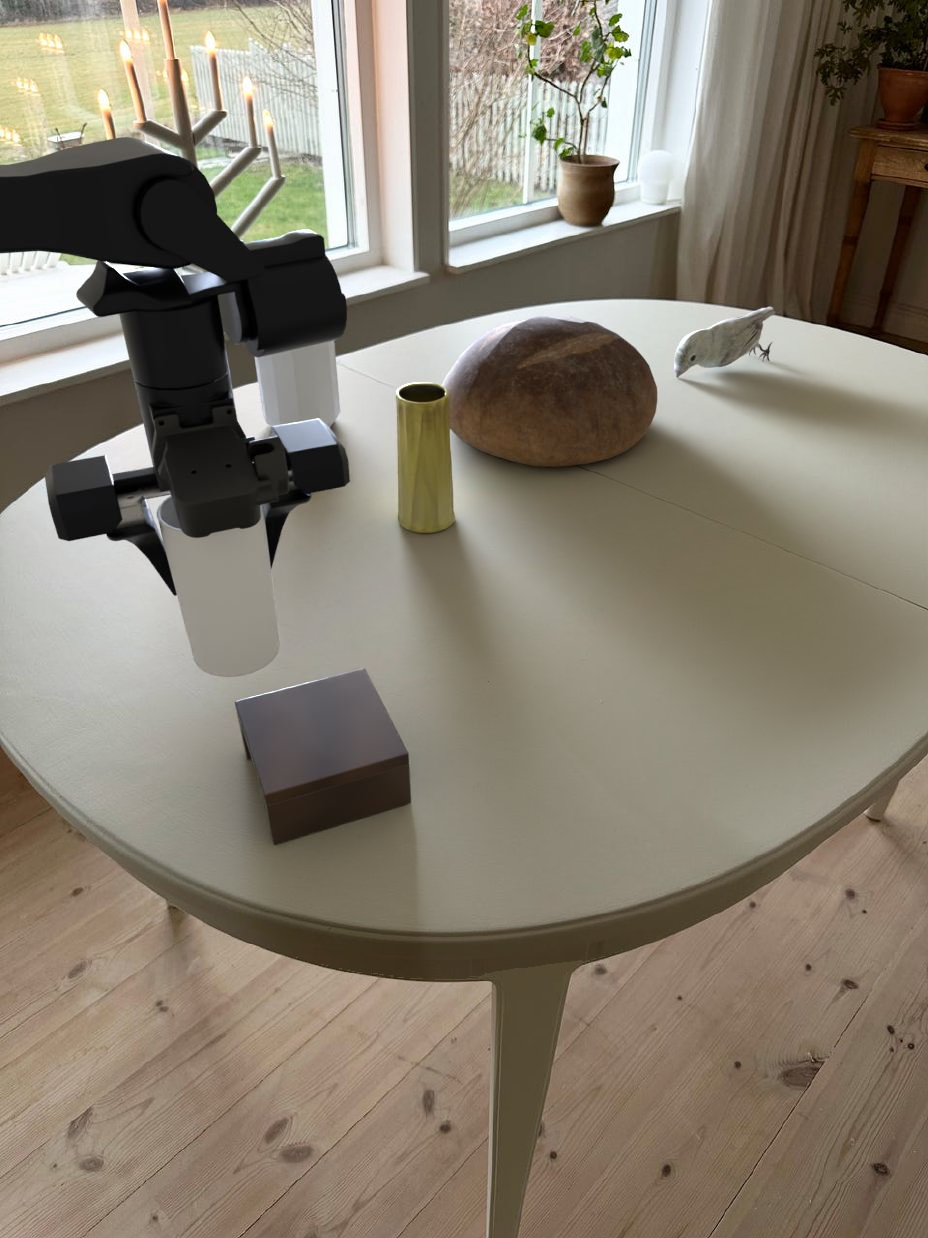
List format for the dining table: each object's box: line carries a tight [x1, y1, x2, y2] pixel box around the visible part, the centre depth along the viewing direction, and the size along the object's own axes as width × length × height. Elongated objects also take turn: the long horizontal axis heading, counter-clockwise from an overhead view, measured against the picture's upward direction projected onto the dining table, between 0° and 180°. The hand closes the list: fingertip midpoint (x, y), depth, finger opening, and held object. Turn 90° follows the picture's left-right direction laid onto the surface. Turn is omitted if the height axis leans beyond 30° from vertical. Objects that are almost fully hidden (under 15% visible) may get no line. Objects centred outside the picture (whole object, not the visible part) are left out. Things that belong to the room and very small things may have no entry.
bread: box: [441, 316, 658, 468], centre depth 113 cm, size 26×27×13 cm
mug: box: [156, 495, 281, 678], centre depth 65 cm, size 10×7×12 cm, turn 39°
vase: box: [395, 381, 456, 534], centre depth 94 cm, size 6×6×14 cm
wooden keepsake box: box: [234, 667, 412, 846], centre depth 67 cm, size 10×10×5 cm
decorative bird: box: [673, 306, 776, 378], centre depth 130 cm, size 5×16×7 cm, turn 118°
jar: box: [254, 340, 341, 428], centre depth 112 cm, size 10×10×18 cm
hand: (221, 582), depth 66 cm, fingers closed on mug, 6 cm apart
